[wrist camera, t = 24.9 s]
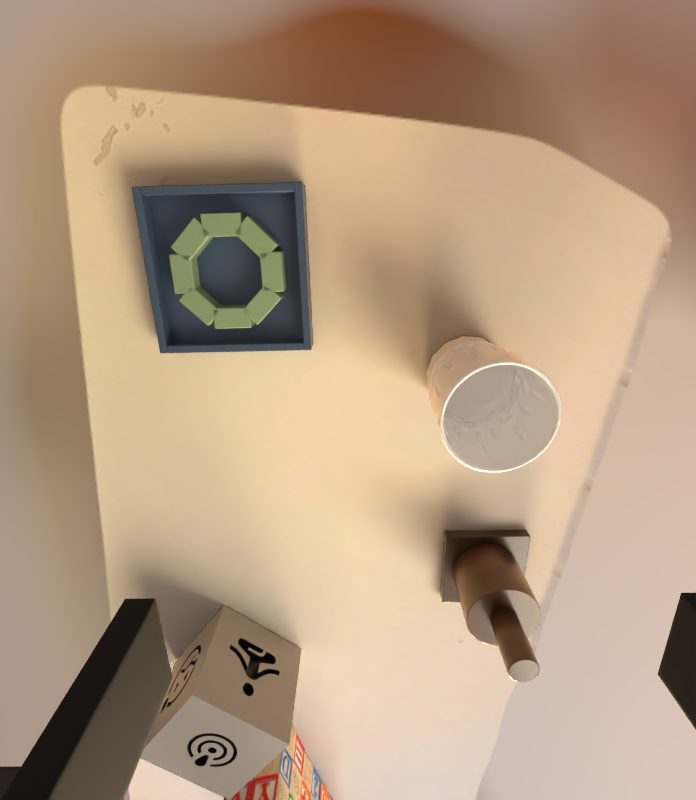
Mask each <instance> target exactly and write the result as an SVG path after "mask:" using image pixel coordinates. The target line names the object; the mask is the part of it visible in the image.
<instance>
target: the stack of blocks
mask: <svg viewBox="0 0 696 800" xmlns="http://www.w3.org/2000/svg"><path fill="white" fill-rule="evenodd" d="M224 800H229V799H227V798H225V797H224ZM230 800H331V798H330V797H329V794H328V792H327V790H326V788H325V786H324V785H323V783H322V782H321V780H320V778H319V776H318V774H317V773H316V771H315V769H314V767H313V766H312V764H311V762H310V760H309V758H308V756H307V754H306V752H305V750H304V747H303V746H302V744H301V742H300V740H299V738H298V736H297V735H296V732H295V730H294V728H293V726H291V734H290V742H289V745H288V746H287V747H286V748H285V749H284V750H283V751H282V752H281V753H279V754H278V755H277V756H276V757H275V758H274V759H273V760H272V761H271V762H270V763H269V764H268V765H267V766H265V767H264V768H263V769H262V770H261V771H260V772H259V773H258V774H257V775H256V776H255V777H254V778H253V779H251V780H250V781H249V782H248V783H247V784H246V785H245V786H244V787H243V788H242V789H241V790H240V791H239V792H237V793H236V794H235V795H234V796H233V797H232V798H231V799H230Z"/></svg>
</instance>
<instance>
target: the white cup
mask: <svg viewBox="0 0 696 800" xmlns="http://www.w3.org/2000/svg"><path fill="white" fill-rule="evenodd" d="M426 375H427V384H428V390H429V396H430V400H431V404H432V408H433V411H434V415H435V418H436V421H437V424H438V427H439V430H440V434H441V437H442V440H443V442H444V444H445V446H446V448H447V449H448V451H449V452H450V453H451V455H452V456H453V457H454V458H455V459H457V460H458V461H459V462H461V463H462V464H464V465H465V466H467V467H470V468H472V469H475V470H478V471H483V472H505V471H510V470H513V469H517V468H519V467H522V466H524V465H526V464H528V463H529V462H531V461H533V460H534V459H536V458H537V457H538V456H539V455H540V454H542V453H543V452H544V451H545V450H546V448H547V447H548V446H549V445H550V443H551V442H552V440H553V439H554V437H555V435H556V433H557V431H558V428H559V425H560V420H561V401H560V397H559V394H558V391H557V389H556V387H555V386H554V384H553V383H552V381H551V380H550V379H549V378H548V377H547V376H546V375H545V374H544V373H543V372H542V371H540V370H539V369H537V368H535V367H534V366H532V365H530V364H529V363H527V362H525V361H524V360H522V359H521V358H519V357H518V356H516V355H515V354H513V353H511V352H509V351H507V350H505V349H503V348H502V347H500V346H498V345H495V344H492V343H490V342H488V341H486V340H485V339H483V338H481V337H466V336H462V337H460V338H457V339H454V340H452V341H449V342H447V343H445V344H444V345H443V346H442V347H441V348H440V349H439V350H438V351H437V352H436V353H435V354H434V355H433V356H432V358H431V361H430V364H429V366H428V369H427V372H426Z"/></svg>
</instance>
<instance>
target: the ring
mask: <svg viewBox="0 0 696 800" xmlns="http://www.w3.org/2000/svg"><path fill="white" fill-rule="evenodd" d="M200 216H201V218H195V217H194V218H193V219H192V220H191V221H190V223H189V224H188V225H187V226H186V228H185V229H184V230H183V232H182V233H181V234H180V236H179V237H178V238H177V239H176V241H175V242H174V243H173V245H172V246H171V248H172V249H173V250H174V251H175V252H176V253H177V254H170V255H169V259H170V266H171V272H172V279H173V285H174V292H175V294H183V295H182V297H181V298H180V299H179V301H180V302H181V303H182V304H183V305H184V306H186V307H187V308H188V309H189V310H190V311H191V312H192V313H194V314H195V315H196V316H197V317H198V318H199V319H201V320H202V321H203V322H204V323H205V324H206V325H208V326H209V325H210V324H212V323H213V322H214V325H215V328H216V329H222V328H251V327H252V326H253V325H254V324H255V323H256V324H257V325H258V324H259V323H260V322H261V321H262V320H263V319H264V318H265V317H266V316H267V314H268V313H269V312H270V311H271V310H272V309H273V308H274V307H275V305H276V304H277V303H278V302H279V301H280V300H281V299H282V298H283V296H284V295H283V294H282V293H281V292H280V291H284V290H285V289H286V276H285V262H284V251H275V250H276V249H277V248H278V247H279V245H280V243H279V242H278V241H277V240H276V239H275V238H274V237H273V236H272V235H271V234H270V233H269V232H267V231H266V230H265V229H264V228H263V227H262V226H261V225H260V224H259V223H258V222H257V221H256V220H255V219H254V218H253V217H251V216H246V218H245V214H244V213H205V214H200ZM226 236H238V237H239V238H240V239H241V240H242V241H243V242H244V243H245V244H246V245H247V246H248V247H249V248H250V249H252V250H253V251H254V252H255V253H256V254H257V255H258V256H259V257H260V264H261V276H262V288H261V289H260V290H259V292H258V293H257V294H256V295H255V296H254V297H253V298H252V300H251V301H250V302H249V303H248V304H247V305H221V304H220V303H219V302H218V301H217V300H215V299H214V298H213V297H212V296H211V295H210V294H209V293H208V292H206V291H205V290H204V289H203V288H202V287H201V285H200V278H199V270H198V263H197V257H198V256H199V255H200V253H201V252H202V251H203V250H204V248H205V247H206V246H207V245H208V243H209V242H210V241H211V240H212V238H213V237H226Z"/></svg>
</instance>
